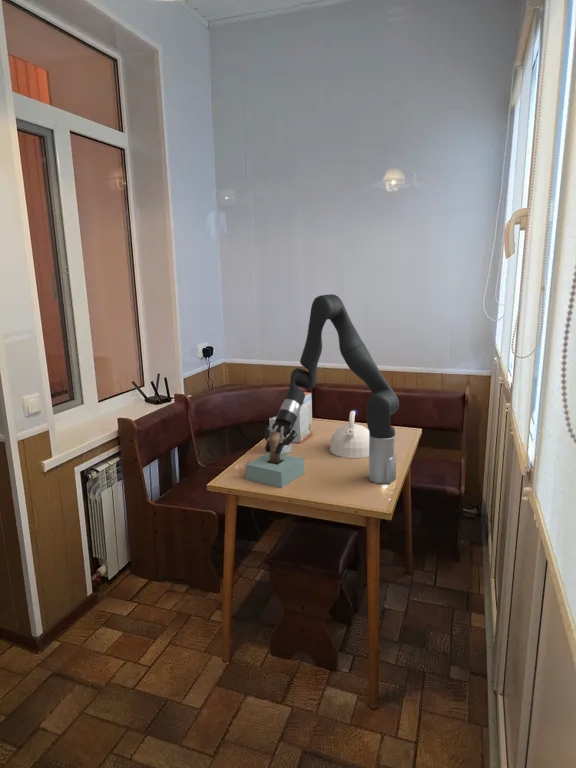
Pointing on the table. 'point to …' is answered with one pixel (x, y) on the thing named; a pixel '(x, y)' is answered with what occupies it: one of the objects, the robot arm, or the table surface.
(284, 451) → the skincare box
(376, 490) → the table surface
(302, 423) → the cracker box
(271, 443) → the walnut pin
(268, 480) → the slate bore block
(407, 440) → the table surface
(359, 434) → the kettle
